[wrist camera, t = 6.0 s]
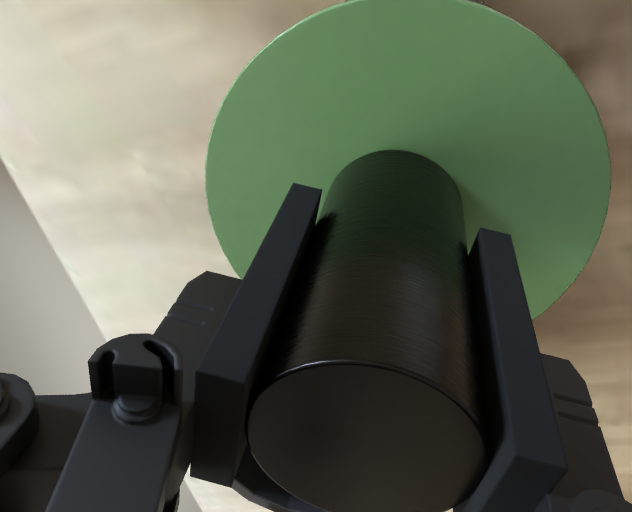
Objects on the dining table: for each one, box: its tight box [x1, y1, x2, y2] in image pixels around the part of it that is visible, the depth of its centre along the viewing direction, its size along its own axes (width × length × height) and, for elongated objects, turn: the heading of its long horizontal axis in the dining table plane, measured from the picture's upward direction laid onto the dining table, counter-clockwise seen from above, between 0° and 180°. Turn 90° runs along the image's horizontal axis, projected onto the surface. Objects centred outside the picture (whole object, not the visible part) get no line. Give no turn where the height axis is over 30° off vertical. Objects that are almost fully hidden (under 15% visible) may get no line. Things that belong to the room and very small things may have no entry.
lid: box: [205, 0, 611, 512], centre depth 12 cm, size 12×12×10 cm
